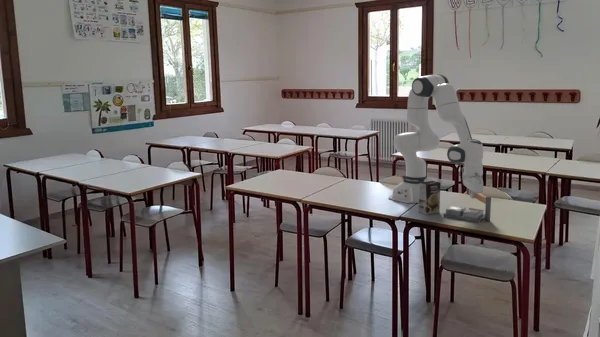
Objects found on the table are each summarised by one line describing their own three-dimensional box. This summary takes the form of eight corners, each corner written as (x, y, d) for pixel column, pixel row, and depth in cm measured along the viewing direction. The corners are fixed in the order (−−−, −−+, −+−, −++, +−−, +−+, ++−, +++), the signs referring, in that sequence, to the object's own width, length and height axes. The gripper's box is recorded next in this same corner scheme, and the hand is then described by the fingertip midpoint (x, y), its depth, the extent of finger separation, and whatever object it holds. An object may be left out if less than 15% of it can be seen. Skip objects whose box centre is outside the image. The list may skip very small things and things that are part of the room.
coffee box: (426, 215, 260) (427, 184, 257) (418, 212, 266) (418, 182, 263) (440, 212, 264) (441, 182, 261) (431, 209, 270) (432, 180, 267)
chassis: (443, 216, 257) (443, 208, 257) (451, 211, 265) (451, 204, 264) (478, 222, 246) (479, 214, 246) (485, 217, 254) (486, 209, 253)
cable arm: (491, 220, 248) (492, 197, 245) (485, 221, 247) (486, 197, 245) (470, 207, 271) (471, 186, 268) (465, 207, 270) (466, 186, 268)
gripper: (487, 175, 247) (486, 202, 249) (472, 167, 267) (471, 192, 269) (474, 175, 247) (473, 203, 249) (460, 167, 267) (459, 193, 269)
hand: (472, 197), depth 259 cm, fingers closed
